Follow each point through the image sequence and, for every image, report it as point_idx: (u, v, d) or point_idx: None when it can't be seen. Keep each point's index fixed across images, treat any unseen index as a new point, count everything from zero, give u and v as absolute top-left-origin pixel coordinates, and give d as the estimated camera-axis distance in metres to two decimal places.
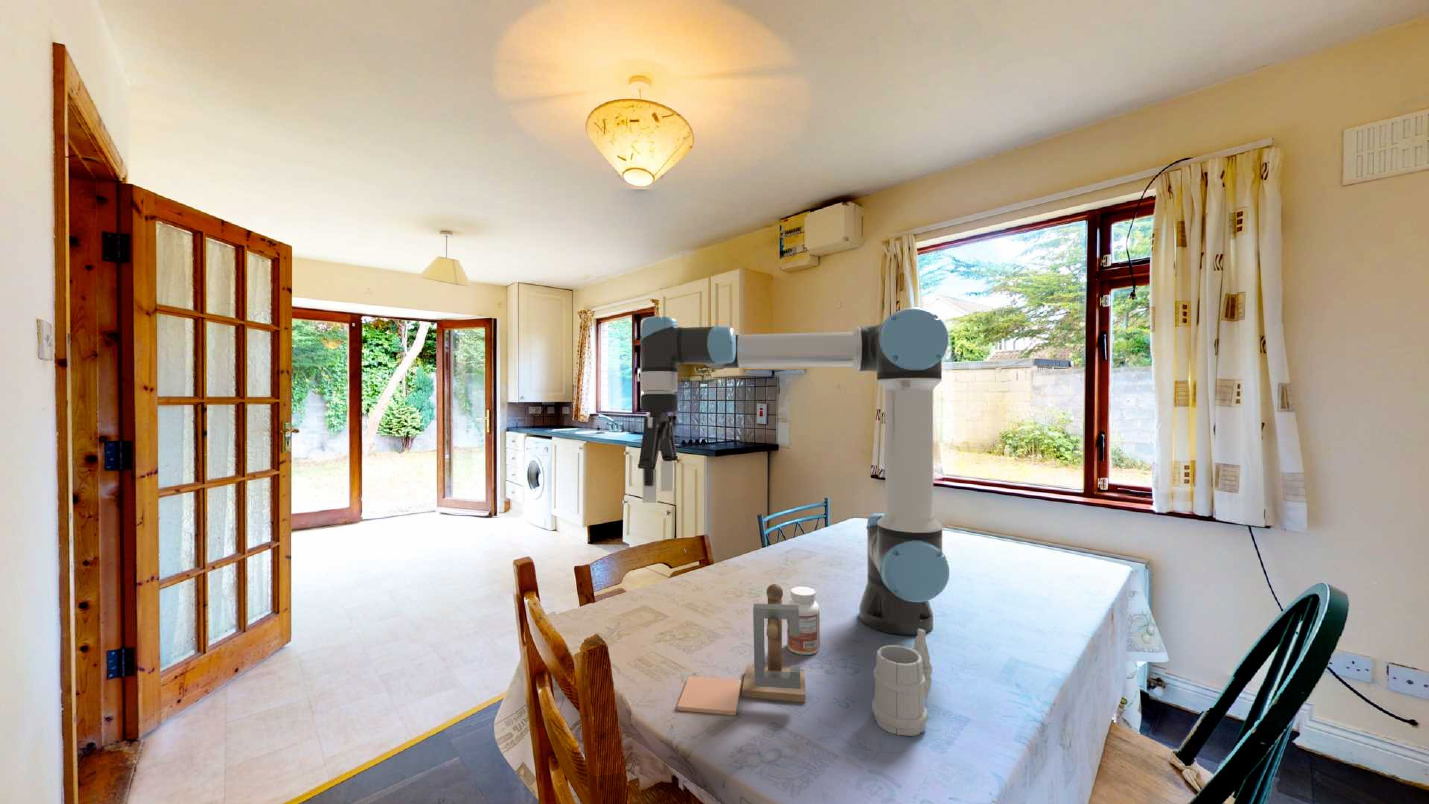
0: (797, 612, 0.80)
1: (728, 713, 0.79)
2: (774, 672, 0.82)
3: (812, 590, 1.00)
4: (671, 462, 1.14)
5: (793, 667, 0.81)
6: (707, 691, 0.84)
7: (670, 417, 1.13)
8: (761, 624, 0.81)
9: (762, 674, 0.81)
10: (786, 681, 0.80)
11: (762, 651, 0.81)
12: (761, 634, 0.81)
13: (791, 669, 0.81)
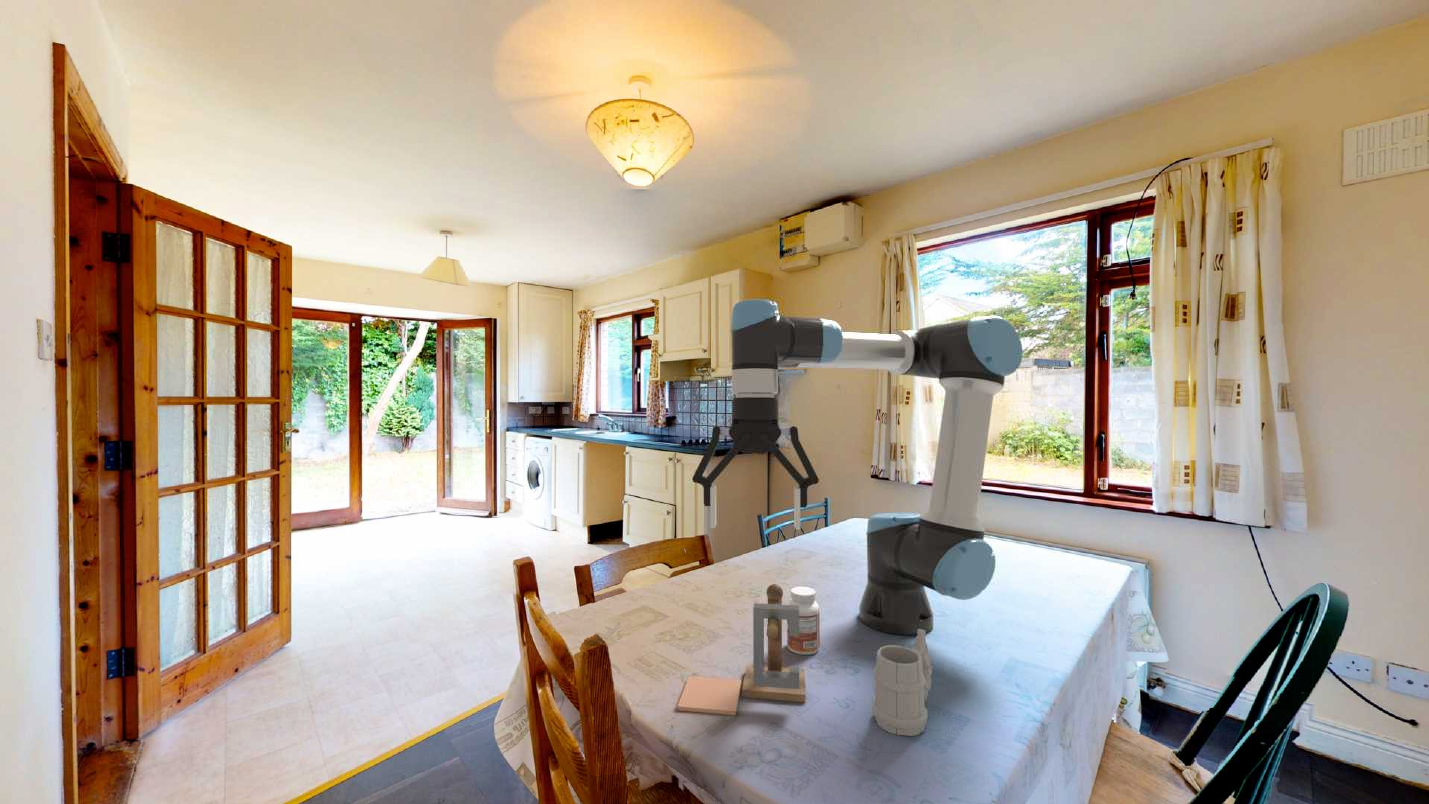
0: (797, 612, 0.80)
1: (728, 713, 0.79)
2: (773, 672, 0.82)
3: (812, 590, 1.00)
4: (795, 489, 0.83)
5: (792, 667, 0.81)
6: (707, 691, 0.84)
7: (790, 428, 0.84)
8: (761, 624, 0.81)
9: (761, 674, 0.81)
10: (784, 681, 0.80)
11: (761, 651, 0.81)
12: (761, 634, 0.81)
13: (790, 669, 0.81)
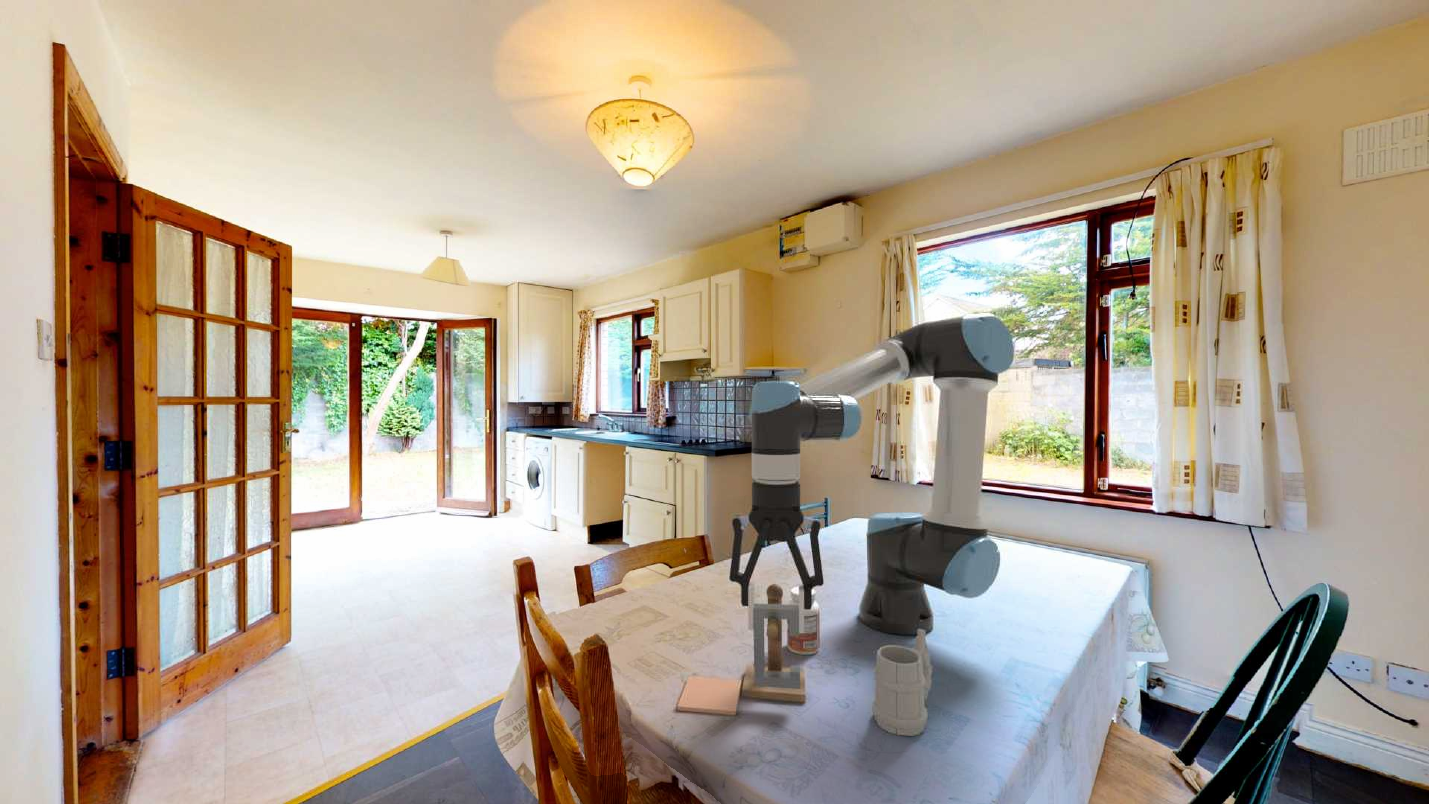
0: (797, 612, 0.80)
1: (728, 713, 0.79)
2: (774, 672, 0.82)
3: (812, 590, 1.00)
4: (799, 590, 0.80)
5: (793, 667, 0.81)
6: (707, 691, 0.84)
7: (814, 521, 0.80)
8: (761, 624, 0.81)
9: (762, 674, 0.81)
10: (785, 681, 0.80)
11: (762, 651, 0.81)
12: (761, 634, 0.81)
13: (791, 669, 0.81)
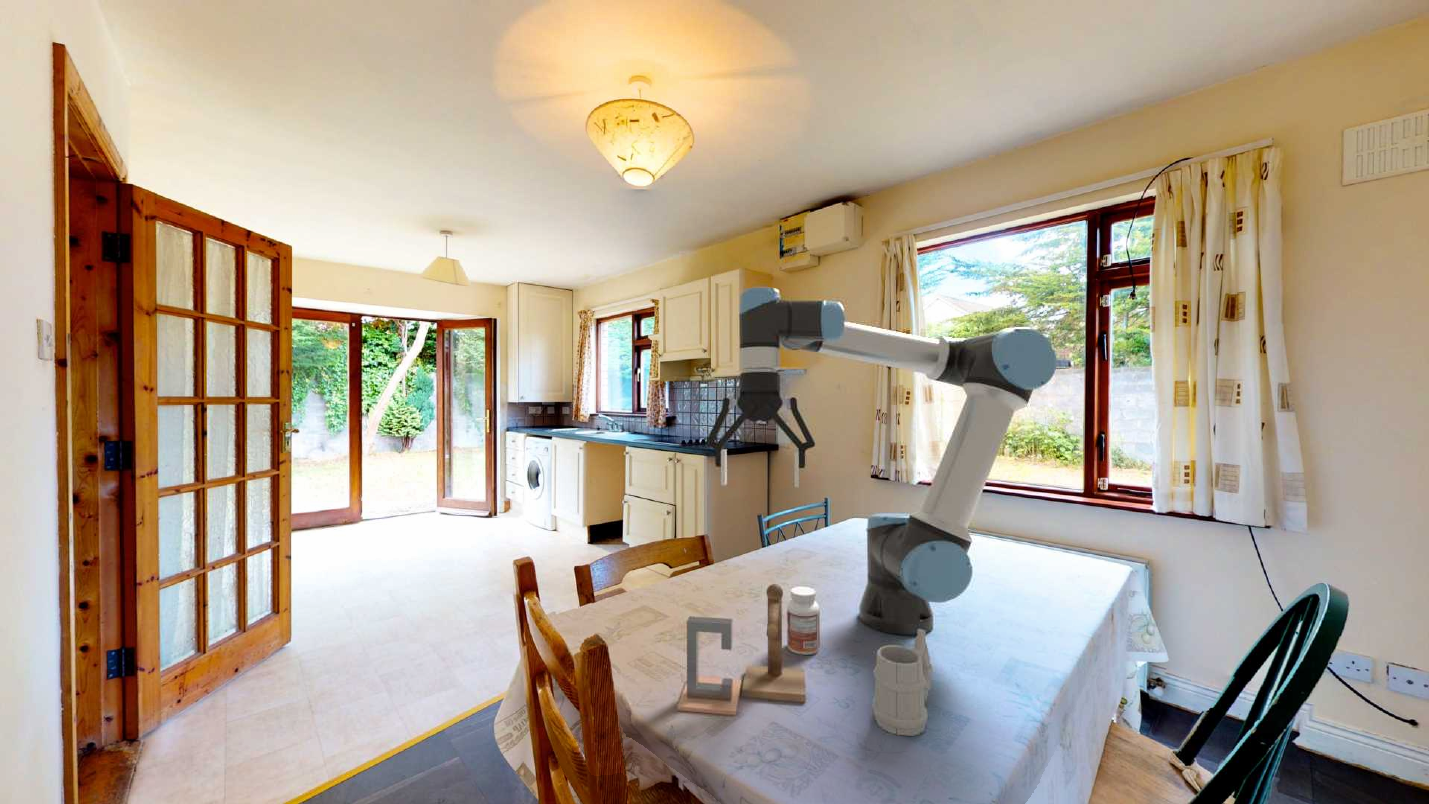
0: (729, 626, 0.81)
1: (728, 713, 0.79)
2: (707, 684, 0.83)
3: (812, 590, 1.00)
4: None
5: (725, 680, 0.83)
6: None
7: (790, 399, 0.96)
8: (694, 637, 0.82)
9: (694, 686, 0.82)
10: (717, 693, 0.82)
11: (695, 663, 0.82)
12: (694, 647, 0.82)
13: (723, 682, 0.82)
